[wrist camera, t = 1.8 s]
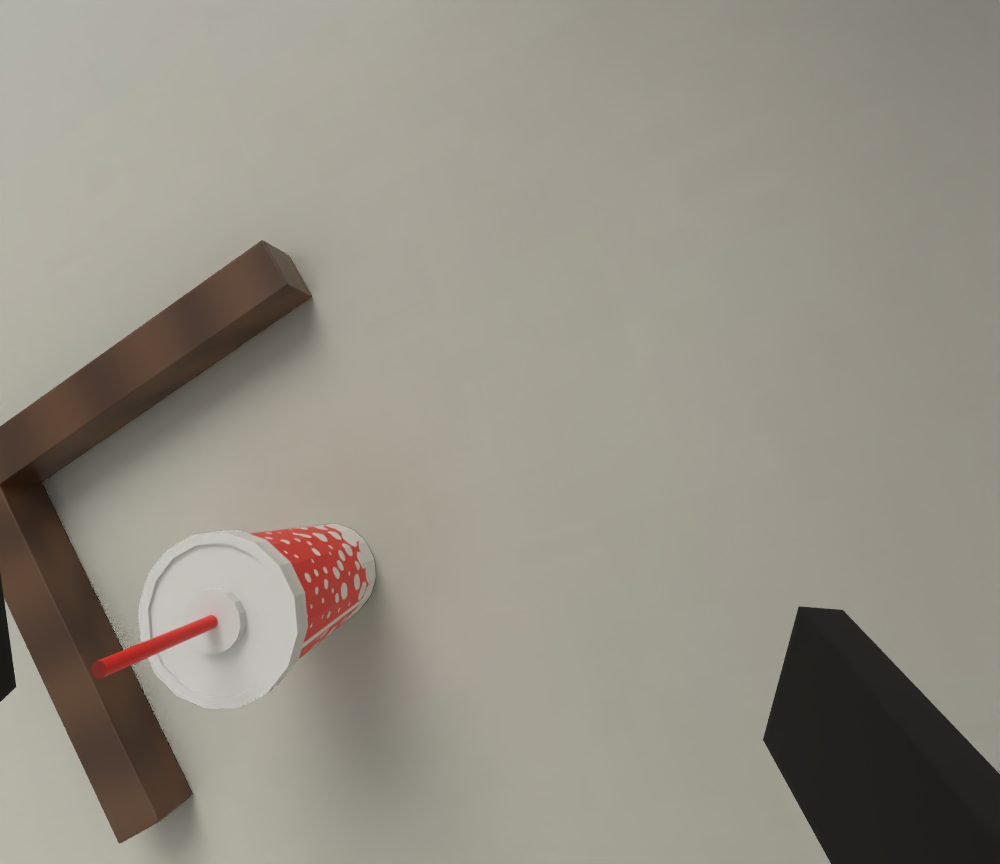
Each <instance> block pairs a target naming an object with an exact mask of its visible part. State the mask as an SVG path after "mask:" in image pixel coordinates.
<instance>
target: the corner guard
mask: <svg viewBox="0 0 1000 864" xmlns="http://www.w3.org/2000/svg"><path fill="white" fill-rule="evenodd" d="M310 297H312V296H311V294H310V292H309V290H308V289H307V287H306V285H305V283H304V281H303V280H302V278H301V276H300V274H299V273H298V271H297V269H296V267H295V266H294V264H293V262H292V260H291V259H290V257H289V255H287V254H285V253H284V252H282V251H280V250H279V249H277V248H275V247H274V246H272V245H270V244H268V243H267V242H265V241H263V240H262V241H260V242H259V243H257V244H256V245H255V246H253V247H252V248H250V249H249V250H248V251H246V252H245V253H243V254H242V255H241V256H239V257H238V258H236V259H235V260H234V261H232V262H231V263H229V264H228V265H227V266H225V267H224V268H222V269H221V270H220V271H218V272H217V273H215V274H214V275H212V276H211V277H210V278H208V279H207V280H205V281H204V282H203V283H201V284H200V285H198V286H197V287H196V288H194V289H193V290H191V291H190V292H189V293H187V294H186V295H184V296H183V297H182V298H180V299H179V300H177V301H176V302H175V303H173V304H172V305H170V306H169V307H168V308H166V309H165V310H163V311H162V312H160V313H159V314H158V315H156V316H155V317H153V318H152V319H151V320H149V321H148V322H146V323H145V324H144V325H142V326H141V327H139V328H138V329H137V330H135V331H134V332H132V333H131V334H130V335H128V336H127V337H125V338H124V339H123V340H121V341H120V342H118V343H117V344H115V345H114V346H113V347H111V348H110V349H108V350H107V351H106V352H104V353H103V354H101V355H100V356H99V357H97V358H96V359H94V360H93V361H92V362H90V363H89V364H87V365H86V366H85V367H83V368H82V369H80V370H79V371H78V372H76V373H75V374H73V375H72V376H71V377H69V378H68V379H66V380H65V381H63V382H62V383H61V384H59V385H58V386H56V387H55V388H54V389H52V390H51V391H49V392H48V393H47V394H45V395H44V396H42V397H41V398H40V399H38V400H37V401H35V402H34V403H33V404H31V405H30V406H28V407H27V408H26V409H24V410H23V411H21V412H20V413H18V414H17V415H16V416H14V417H13V418H11V419H10V420H9V421H7V422H6V423H4V424H3V425H2V426H0V573H1V581H2V588H3V595H4V599H5V601H6V603H7V605H8V607H9V609H10V611H11V614H12V616H13V618H14V620H15V622H16V624H17V626H18V628H19V631H20V633H21V635H22V637H23V639H24V641H25V643H26V646H27V648H28V650H29V652H30V654H31V656H32V658H33V661H34V663H35V665H36V667H37V669H38V671H39V673H40V676H41V678H42V680H43V682H44V684H45V686H46V688H47V691H48V693H49V695H50V697H51V699H52V701H53V703H54V706H55V708H56V710H57V712H58V714H59V716H60V718H61V720H62V723H63V725H64V727H65V729H66V731H67V733H68V735H69V738H70V740H71V742H72V744H73V746H74V748H75V750H76V753H77V755H78V757H79V759H80V761H81V763H82V765H83V768H84V770H85V772H86V774H87V776H88V778H89V780H90V783H91V785H92V787H93V789H94V791H95V793H96V795H97V798H98V800H99V802H100V804H101V806H102V808H103V810H104V813H105V815H106V817H107V819H108V821H109V823H110V825H111V827H112V830H113V832H114V834H115V836H116V838H117V840H118V842H119V843H122V842H124V841H126V840H127V839H129V838H131V837H133V836H135V835H136V834H138V833H140V832H142V831H143V830H145V829H147V828H149V827H151V826H152V825H154V824H156V823H158V822H159V821H161V820H162V819H163V818H164V817H166V816H167V815H168V814H169V813H171V812H172V811H173V810H174V809H176V808H177V807H178V806H179V805H180V804H182V803H183V802H184V801H185V800H187V799H188V798H189V797H190V796H191V795H192V792H191V790H190V788H189V786H188V784H187V782H186V780H185V778H184V776H183V774H182V772H181V770H180V767H179V765H178V763H177V761H176V759H175V757H174V755H173V753H172V751H171V749H170V747H169V745H168V743H167V741H166V739H165V737H164V735H163V733H162V730H161V728H160V726H159V724H158V722H157V720H156V718H155V716H154V714H153V712H152V710H151V708H150V706H149V704H148V702H147V700H146V698H145V696H144V693H143V691H142V689H141V687H140V685H139V683H138V681H137V679H136V677H135V675H134V673H133V671H132V669H131V667H130V666H128V667H126V668H123V669H121V670H119V671H117V672H114V673H112V674H110V675H108V676H105V677H103V678H99V679H98V678H96V677H94V675H93V674H92V670H91V668H92V665H93V663H94V662H96V661H98V660H101V659H103V658H105V657H108V656H110V655H113V654H115V653H118V652H120V651H123V650H122V648H121V646H120V644H119V642H118V640H117V638H116V636H115V634H114V632H113V630H112V628H111V626H110V624H109V622H108V620H107V617H106V615H105V613H104V611H103V609H102V607H101V605H100V603H99V601H98V599H97V597H96V595H95V593H94V591H93V589H92V587H91V585H90V583H89V580H88V578H87V576H86V574H85V572H84V570H83V568H82V566H81V564H80V562H79V560H78V558H77V556H76V554H75V552H74V550H73V548H72V546H71V543H70V541H69V539H68V537H67V535H66V533H65V531H64V529H63V527H62V525H61V523H60V521H59V519H58V517H57V515H56V513H55V511H54V509H53V506H52V504H51V502H50V500H49V498H48V496H47V494H46V492H45V490H44V488H43V486H42V484H41V482H42V481H43V480H45V479H46V478H48V477H49V476H51V475H52V474H54V473H55V472H57V471H58V470H60V469H61V468H62V467H64V466H65V465H67V464H68V463H70V462H71V461H73V460H74V459H76V458H77V457H79V456H80V455H81V454H83V453H84V452H86V451H87V450H89V449H90V448H92V447H93V446H95V445H96V444H97V443H99V442H100V441H102V440H103V439H105V438H106V437H108V436H109V435H111V434H112V433H114V432H115V431H116V430H118V429H119V428H121V427H122V426H124V425H125V424H127V423H128V422H130V421H131V420H132V419H134V418H135V417H137V416H138V415H140V414H141V413H143V412H144V411H146V410H147V409H149V408H150V407H151V406H153V405H154V404H156V403H157V402H159V401H160V400H162V399H163V398H165V397H166V396H167V395H169V394H170V393H172V392H173V391H175V390H176V389H178V388H179V387H181V386H182V385H184V384H185V383H186V382H188V381H189V380H191V379H192V378H194V377H195V376H197V375H198V374H200V373H201V372H202V371H204V370H205V369H207V368H208V367H210V366H211V365H213V364H214V363H216V362H217V361H219V360H220V359H221V358H223V357H224V356H226V355H227V354H229V353H230V352H232V351H233V350H235V349H236V348H238V347H239V346H240V345H242V344H243V343H245V342H246V341H248V340H249V339H251V338H252V337H254V336H255V335H256V334H258V333H259V332H261V331H262V330H264V329H265V328H267V327H268V326H270V325H271V324H273V323H274V322H275V321H277V320H278V319H280V318H281V317H283V316H284V315H286V314H287V313H289V312H290V311H291V310H293V309H294V308H296V307H297V306H299V305H300V304H302V303H303V302H305V301H306V300H308V299H309V298H310Z"/></svg>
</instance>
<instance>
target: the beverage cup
mask: <svg viewBox="0 0 1000 864" xmlns="http://www.w3.org/2000/svg"><path fill="white" fill-rule="evenodd" d="M375 579H376V573H375V562H374V557H373V555H372V553H371V551H370V549H369V547H368V545H367V543H366V541H364V540H363V539H362V538H361V537H360V536H359V535H358V534H357V533H356V532H354V531H353V530H352V529H349V528H346V527H343V526H341V525H338V524H327V525H316V526H308V527H300V528H292V529H284V530H276V531H268V532H260V533H251V534H249V533H246V532H243V531H240V530H227V531H215V532H207V533H197V534H193V535H191V536H189V537H188V538H186V539H184V540H183V541H181V542H179V543H177V544H176V545H174V546H172V547H170V548H169V549H167V550H166V551H165V552H164V554H163V555H162V556H161V558H160V559H159V560H158V562H157V563H156V564H155V566H154V567H153V568H152V570H151V571H150V572H149V574H148V575H147V578H146V581H145V585H144V588H143V592H142V595H141V599H140V603H139V606H138V614H139V627H140V641H141V643H140V644H138V645H135V646H133V647H130V648H128V649H125V650H123V651H120V652H118V653H115V654H113V655H110V656H108V657H105V658H103V659H101V660H98V661H96V662H94V663H93V665H92V668H91V670H92V674H93V675H94V677H96V678H98V679H99V678H103V677H105V676H108V675H110V674H112V673H114V672H117V671H119V670H121V669H123V668H126V667H128V666H130V665H132V664H135V663H137V662H139V661H142V660H144V659H146V658H148V660H149V662H150V664H151V666H152V669H153V671H154V673H155V674H156V675H157V676H158V677H159V678H160V679H161V680H162V681H163V682H164V683H165V684H166V685H167V686H168V687H169V688H170V689H171V690H172V691H173V692H174V693H175V694H176V695H177V696H178V697H180V698H182V699H185V700H187V701H189V702H192V703H194V704H196V705H199V706H201V707H204V708H206V709H223V708H240V707H241V706H243V705H245V704H247V703H249V702H251V701H253V700H255V699H257V698H259V697H261V696H263V695H265V694H267V693H268V692H270V691H271V690H272V689H273V688H274V686H276V685H278V684H279V683H280V682H281V681H282V679H283V678H284V677H285V676H286V674H287V673H288V672H289V671H290V669H291V668H292V667H293V666H294V664H295V663H296V662H297V661H298V659H299V658H301V657H302V656H303V655H304V654H306V653H307V652H308V651H309V650H310V649H312V648H313V647H314V646H315V645H317V644H318V643H319V642H320V641H322V640H323V639H324V638H325V637H326V636H328V635H329V634H330V633H331V632H333V631H334V630H335V629H336V628H338V627H339V626H340V625H341V624H342V623H344V622H345V621H346V620H347V619H349V618H350V617H351V616H352V615H354V614H355V613H356V612H357V611H358V610H360V608H361V607H362V606H363V605H364V603H365V602H366V601H367V600H368V598H369V597H370V596H371V593H372V589H373V586H374V583H375Z"/></svg>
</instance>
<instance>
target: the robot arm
mask: <svg viewBox="0 0 1000 864" xmlns="http://www.w3.org/2000/svg"><path fill="white" fill-rule="evenodd" d="M15 687H16V682H15V675H14V668H13V661H12V653H11V646H10V639H9V632H8V624H7V617H6V610H5V602H4V595H3V588H2V581H1V573H0V702H1V701H2V700H3V699H4V698H5V697H6V696H7V695H8V694H9V693H10V692H11V691H12V690H13V689H14V688H15ZM763 741H764V742H765V744H766V746H767V748H768V750H769V751H770V753H771V755H772V757H773V759H774V761H775V762H776V764H777V766H778V768H779V770H780V772H781V773H782V775H783V777H784V779H785V781H786V782H787V784H788V786H789V788H790V790H791V792H792V793H793V795H794V797H795V799H796V801H797V802H798V804H799V806H800V808H801V810H802V812H803V813H804V815H805V817H806V819H807V821H808V822H809V824H810V826H811V828H812V830H813V832H814V833H815V835H816V837H817V839H818V841H819V843H820V844H821V846H822V848H823V850H824V852H825V853H826V855H827V857H828V859H829V861H830V863H831V864H1000V774H999V773H998V772H997V771H996V770H995V769H994V768H993V767H992V766H991V765H990V763H989V762H988V761H987V760H986V759H985V758H984V757H983V756H982V755H981V754H980V753H979V752H978V751H977V750H976V749H975V748H974V747H973V746H972V745H971V744H970V743H969V741H968V740H967V739H966V738H965V737H964V736H963V735H962V734H961V733H960V732H959V731H958V730H957V729H956V728H955V727H954V726H953V725H952V724H951V723H950V722H949V721H948V720H947V718H946V717H945V716H944V715H943V714H942V713H941V712H940V711H939V710H938V709H937V708H936V707H935V706H934V705H933V704H932V703H931V702H930V701H929V700H928V699H927V698H926V697H925V695H924V694H923V693H922V692H921V691H920V690H919V689H918V688H917V687H916V686H915V685H914V684H913V683H912V682H911V681H910V680H909V679H908V678H907V677H906V676H905V675H904V674H903V672H902V671H901V670H900V669H899V668H898V667H897V666H896V665H895V664H894V663H893V662H892V661H891V660H890V659H889V658H888V657H887V656H886V655H885V654H884V653H883V652H882V650H881V649H880V648H879V647H878V646H877V645H876V644H875V643H874V642H873V641H872V640H871V639H870V638H869V637H868V636H867V635H866V634H865V633H864V632H863V631H862V630H861V629H860V627H859V626H858V625H857V624H856V623H855V622H854V621H853V620H852V619H851V618H850V617H849V616H848V615H847V614H846V613H845V612H844V611H843V610H836V609H824V608H811V607H799V608H798V611H797V615H796V619H795V623H794V626H793V630H792V634H791V638H790V641H789V645H788V649H787V652H786V656H785V660H784V664H783V667H782V671H781V675H780V679H779V682H778V686H777V690H776V693H775V697H774V701H773V705H772V708H771V712H770V716H769V719H768V723H767V727H766V731H765V734H764V738H763Z"/></svg>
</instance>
